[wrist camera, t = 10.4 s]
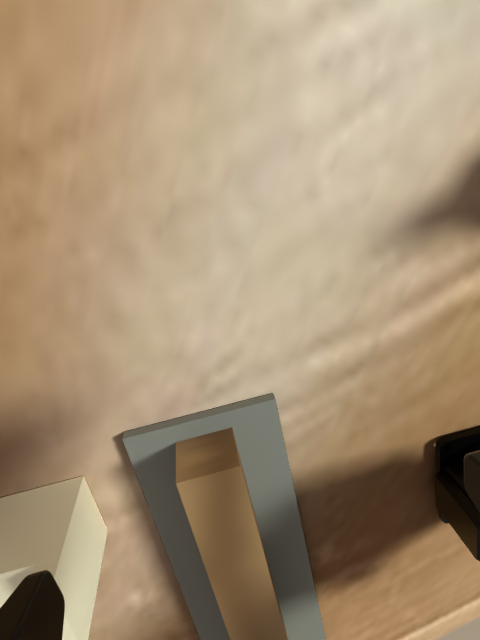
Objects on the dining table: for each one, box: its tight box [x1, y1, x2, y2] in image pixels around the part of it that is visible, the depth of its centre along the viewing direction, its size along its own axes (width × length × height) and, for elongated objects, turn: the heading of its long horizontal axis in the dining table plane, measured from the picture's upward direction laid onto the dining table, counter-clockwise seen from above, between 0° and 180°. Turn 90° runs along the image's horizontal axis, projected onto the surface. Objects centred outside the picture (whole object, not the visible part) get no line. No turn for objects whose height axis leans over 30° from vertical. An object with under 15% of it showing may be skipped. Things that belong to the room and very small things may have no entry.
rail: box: [176, 427, 289, 640], centre depth 25 cm, size 3×22×3 cm, turn 12°
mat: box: [122, 393, 326, 640], centre depth 27 cm, size 8×24×1 cm, turn 12°
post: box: [0, 476, 108, 640], centre depth 20 cm, size 6×4×6 cm, turn 102°
